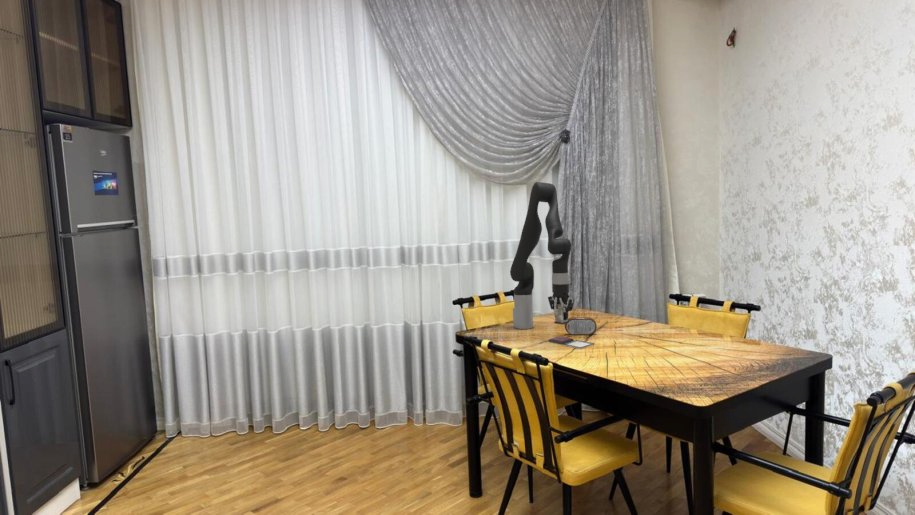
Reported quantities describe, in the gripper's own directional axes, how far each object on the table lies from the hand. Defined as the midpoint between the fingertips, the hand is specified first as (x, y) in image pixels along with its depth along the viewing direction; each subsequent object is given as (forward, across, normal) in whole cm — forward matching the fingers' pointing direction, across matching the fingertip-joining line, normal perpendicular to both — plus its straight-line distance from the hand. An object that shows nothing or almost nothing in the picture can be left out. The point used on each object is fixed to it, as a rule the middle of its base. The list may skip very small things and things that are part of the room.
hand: (561, 319), depth 277 cm
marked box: (+10, +10, 0) cm, 14 cm away
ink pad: (+10, 0, 0) cm, 10 cm away
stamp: (+2, 0, 0) cm, 2 cm away
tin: (+11, -1, +16) cm, 19 cm away
